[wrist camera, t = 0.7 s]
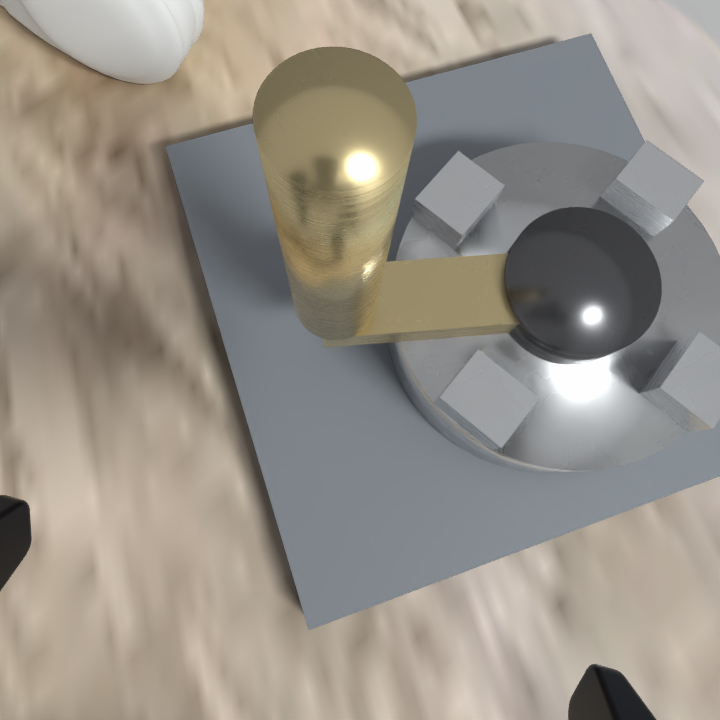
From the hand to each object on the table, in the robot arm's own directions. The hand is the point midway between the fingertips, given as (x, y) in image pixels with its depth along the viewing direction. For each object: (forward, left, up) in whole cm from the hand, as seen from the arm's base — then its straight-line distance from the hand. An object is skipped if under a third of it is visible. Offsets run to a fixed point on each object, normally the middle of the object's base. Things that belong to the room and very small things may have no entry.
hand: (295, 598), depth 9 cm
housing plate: (+7, -9, -13) cm, 17 cm away
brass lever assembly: (+5, -9, -12) cm, 16 cm away
